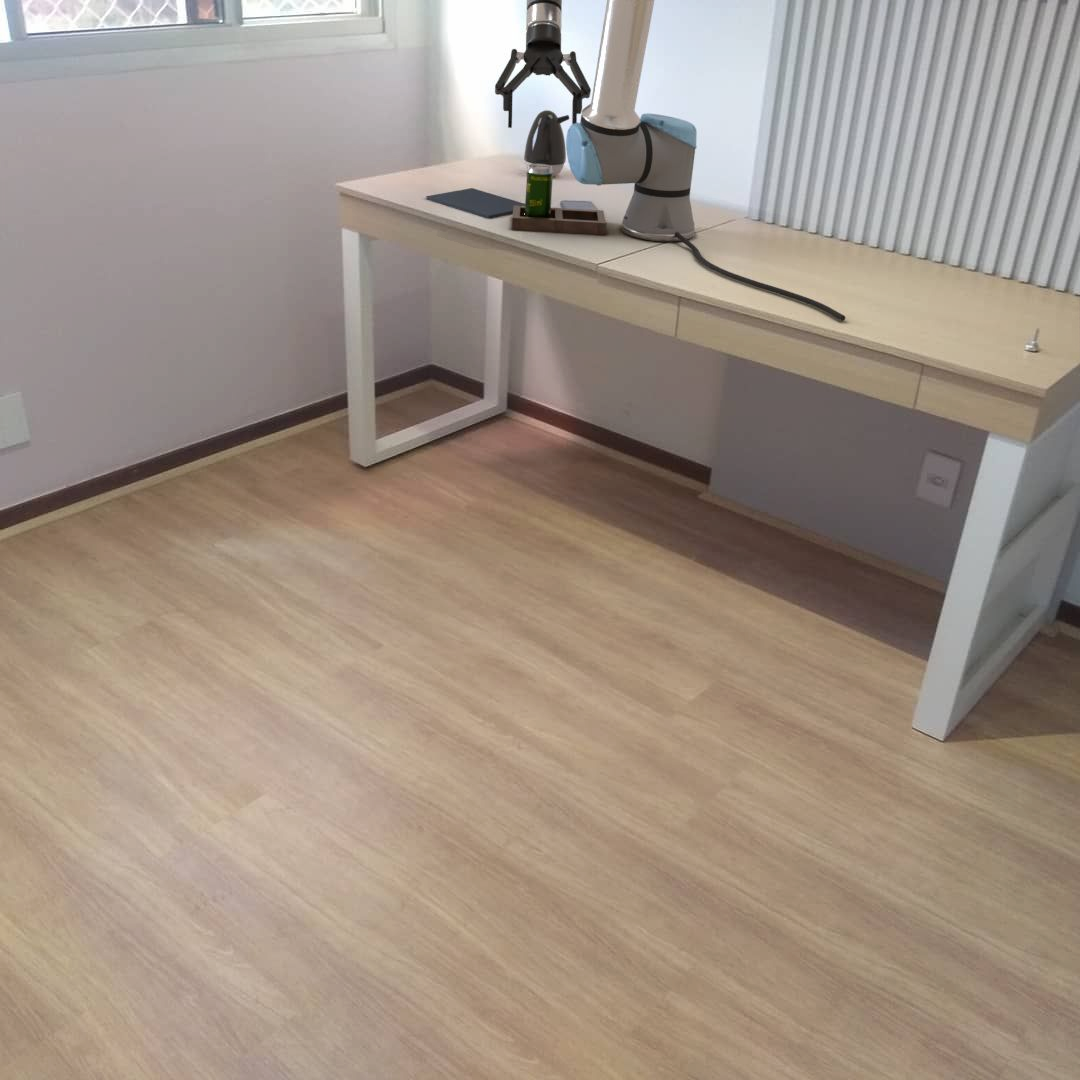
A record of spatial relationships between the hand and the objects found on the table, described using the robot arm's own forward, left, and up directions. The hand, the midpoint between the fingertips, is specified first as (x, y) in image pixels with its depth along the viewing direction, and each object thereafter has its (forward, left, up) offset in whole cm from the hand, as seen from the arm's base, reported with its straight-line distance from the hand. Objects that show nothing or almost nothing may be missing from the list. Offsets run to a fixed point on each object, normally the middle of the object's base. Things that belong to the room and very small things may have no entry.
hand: (542, 126), depth 245 cm
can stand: (-10, +5, -18) cm, 21 cm away
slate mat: (+12, +6, -18) cm, 23 cm away
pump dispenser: (+24, -27, -18) cm, 41 cm away
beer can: (-7, +8, -18) cm, 21 cm away
